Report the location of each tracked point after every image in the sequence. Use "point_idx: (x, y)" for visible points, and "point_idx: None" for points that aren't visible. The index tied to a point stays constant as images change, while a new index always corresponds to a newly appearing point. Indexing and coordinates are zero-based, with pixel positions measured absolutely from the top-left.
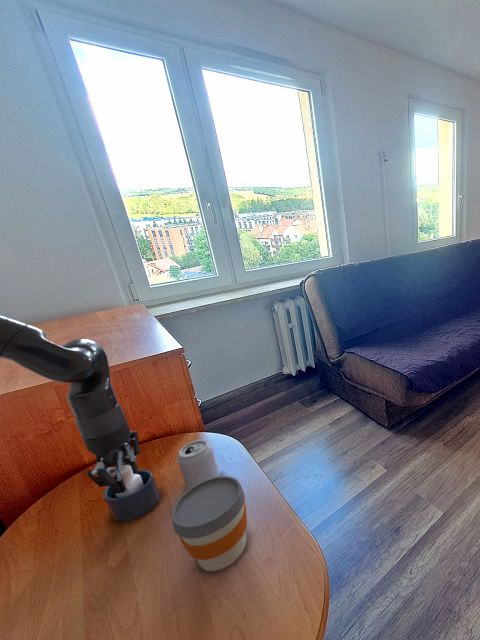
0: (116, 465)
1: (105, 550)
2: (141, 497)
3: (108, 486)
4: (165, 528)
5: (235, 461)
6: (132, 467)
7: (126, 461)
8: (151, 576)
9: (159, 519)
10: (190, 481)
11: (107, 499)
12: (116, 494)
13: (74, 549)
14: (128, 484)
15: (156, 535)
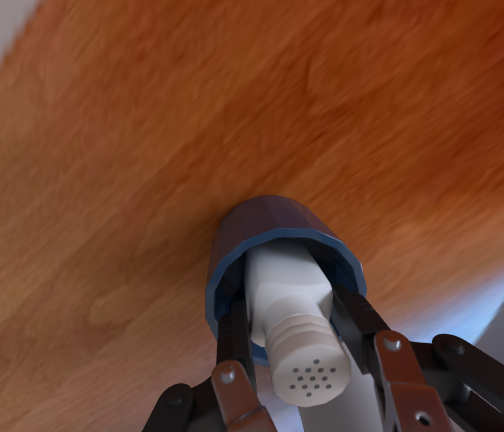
0: None
1: (126, 270)
2: None
3: (283, 231)
4: (192, 360)
5: None
6: (350, 345)
7: (377, 366)
8: (79, 402)
9: None
10: (302, 414)
11: (208, 283)
12: (250, 269)
13: (121, 183)
14: (264, 345)
15: (173, 354)
